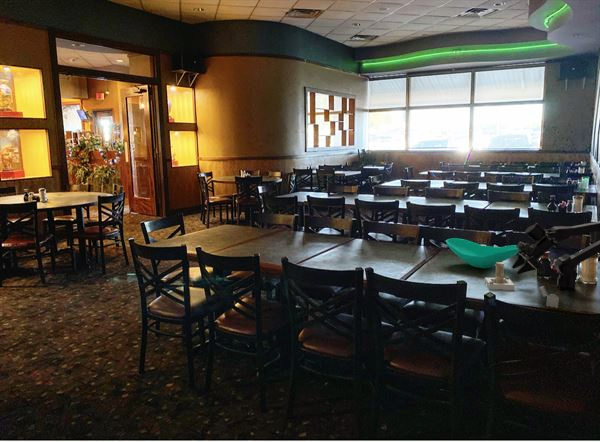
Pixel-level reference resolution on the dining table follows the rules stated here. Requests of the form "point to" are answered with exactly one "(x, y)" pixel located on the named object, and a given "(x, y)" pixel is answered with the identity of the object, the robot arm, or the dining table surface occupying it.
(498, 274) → the wooden cylinder
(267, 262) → the dining table surface
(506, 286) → the housing
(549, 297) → the grey notched flat piece
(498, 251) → the table top decor
